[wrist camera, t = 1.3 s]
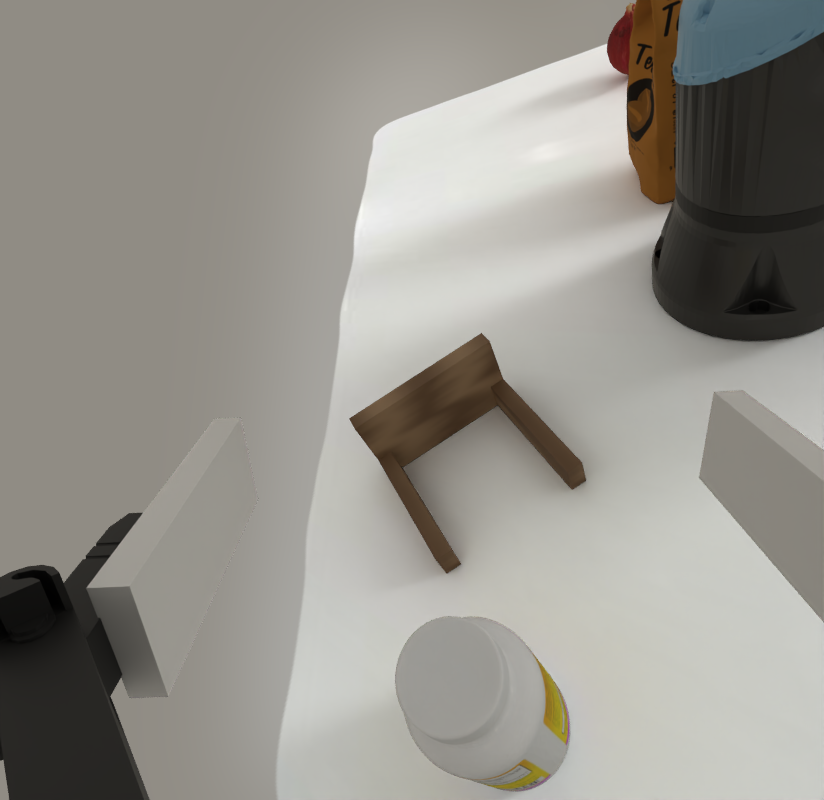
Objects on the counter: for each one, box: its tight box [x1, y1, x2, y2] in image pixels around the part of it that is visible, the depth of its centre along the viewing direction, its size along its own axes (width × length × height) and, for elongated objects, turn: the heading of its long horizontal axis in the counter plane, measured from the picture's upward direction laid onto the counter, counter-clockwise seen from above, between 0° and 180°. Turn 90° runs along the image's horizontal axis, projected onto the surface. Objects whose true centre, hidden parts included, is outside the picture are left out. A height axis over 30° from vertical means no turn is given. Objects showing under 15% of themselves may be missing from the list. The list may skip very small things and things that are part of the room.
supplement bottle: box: [395, 616, 570, 791], centre depth 27 cm, size 7×7×13 cm
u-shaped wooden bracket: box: [349, 333, 586, 573], centre depth 41 cm, size 12×11×7 cm
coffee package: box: [627, 0, 683, 204], centre depth 47 cm, size 10×12×22 cm
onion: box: [607, 3, 636, 75], centre depth 67 cm, size 6×6×8 cm
